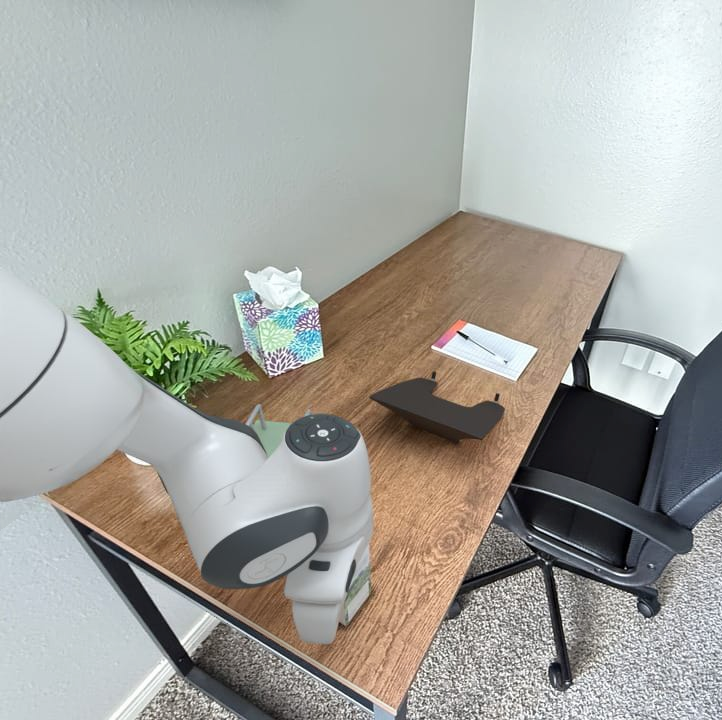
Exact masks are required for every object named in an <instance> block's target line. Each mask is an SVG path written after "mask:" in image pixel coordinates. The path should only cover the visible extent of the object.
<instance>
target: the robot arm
mask: <svg viewBox="0 0 722 720" xmlns="http://www.w3.org/2000/svg"><path fill="white" fill-rule="evenodd" d="M290 423H291V424H290V425H289V426H288V428H287V429H286V431H285V432H284V435H283V437H282V439H281V442H280V444H279V445H278V447H277V448H276V450H275V451H274V452H273V453H272V455H271V456H270V457H269V458H268V456H267V453H266V451H265V449H264V447H263V445H262V443H261V440H260V438H259V436H258V435H257V433H256V432H255V431H254V430H253V429H252V428H251V427H249V426H248V425H246V423H244V422H241V421H238V420H234V419H230V418H225V417H220V416H215V415H212V414H208V413H205V412H203V411H200V410H198V409H197V408H195V407H193V406H191V405H190V404H188V403H187V402H185V401H184V400H183V399H180V398H179V397H178V396H176V395H175V394H174V393H172V392H171V391H168V390H167V389H165V388H164V387H163V386H160V385H159V384H158V383H156V382H155V381H153V380H151V379H150V378H148V377H147V376H145V375H143V374H142V373H141V372H139V371H137V370H136V369H134V368H133V367H131V366H130V365H128V364H127V363H126V362H125V361H124V360H123V359H122V358H121V357H120V356H119V355H118V354H117V353H116V352H115V351H114V350H112V348H111V347H109V346H108V345H107V344H106V343H105V342H104V341H102V339H100V338H99V337H98V336H97V335H95V334H94V333H93V332H92V331H90V329H88V328H87V327H86V326H84V325H83V324H82V323H81V322H79V321H78V320H76V319H75V318H74V317H73V316H72V315H70V314H69V313H67V312H66V311H65V310H64V309H63V308H61V307H59V306H58V305H57V304H55V303H54V302H53V301H51V300H50V299H48V298H47V297H46V296H45V295H43V294H42V293H40V292H39V291H37V290H36V289H35V288H34V287H32V286H31V285H30V284H27V282H24V280H22V279H20V278H18V276H15V275H14V274H12V273H11V272H10V271H8V270H7V269H5V268H3V267H2V266H0V503H9V502H15V501H19V500H25V499H29V498H32V497H33V498H34V497H37V496H41V495H43V494H46V493H49V492H53V491H55V490H58V489H61V488H62V487H65V486H67V485H69V484H71V483H73V482H75V481H76V480H79V479H80V478H82V477H84V476H86V475H87V474H89V473H90V472H92V471H93V470H94V469H96V468H98V467H99V466H100V465H101V464H102V463H104V462H105V461H106V460H108V459H109V457H110V456H112V455H113V454H114V453H115V452H116V451H118V452H121V453H123V454H126V455H127V456H130V457H132V458H135V459H137V460H139V461H141V462H144V463H147V464H149V465H150V466H152V468H154V469H155V471H156V473H157V476H158V477H159V480H160V482H161V484H162V486H163V488H164V490H165V492H166V493H167V495H168V496H169V499H170V501H171V504H172V505H173V508H174V511H175V513H176V516H177V518H178V520H179V523H180V525H181V527H182V530H183V533H184V536H185V538H186V542H187V544H188V546H189V549H190V552H191V554H192V556H193V559H194V561H195V563H196V566H197V568H198V571H199V572H200V575H201V578H202V579H203V581H204V582H205V583H207V584H208V585H211V586H213V587H216V588H220V589H226V590H246V589H247V590H248V589H255V588H261V587H265V586H268V585H270V584H272V583H274V582H277V581H278V580H280V579H282V578H284V577H286V578H285V583H284V587H283V593H284V594H283V595H284V597H285V599H287V600H291V603H292V605H291V606H292V607H291V612H292V619H293V623H294V626H295V629H296V632H297V634H298V638H299V639H300V641H302V642H304V643H307V644H313V645H314V644H315V645H329V644H332V643H333V642H334V641H335V639H336V637H337V631H338V627H339V623H340V622H339V620H340V616H341V612H342V608H343V605H344V601H345V599H346V596H347V592H348V591H349V587H350V584H351V581H352V578H353V575H354V573H355V570H356V567H357V565H358V563H359V561H360V559H361V557H362V555H363V553H364V551H365V548H366V547H367V546H368V544H369V545H370V542H371V540H372V538H373V536H374V531H375V529H374V528H375V524H374V506H373V505H374V503H373V499H372V498H373V497H372V493H371V489H372V474H371V473H372V471H371V463H370V457H369V453H368V449H367V445H366V444H367V443H366V441H365V439H364V437H363V434H362V432H360V430H359V429H358V428H357V427H356V426H355V425H354V424H353V423H351V422H350V421H349V420H347V419H345V418H343V417H341V416H339V415H334V414H330V413H312V414H311V415H307V416H305V415H303V416H301V417H299V418H297V419H295V420H293V421H292V422H290Z"/></svg>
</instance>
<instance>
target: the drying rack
mask: <svg viewBox="0 0 722 720" xmlns="http://www.w3.org/2000/svg"><path fill="white" fill-rule="evenodd" d="M257 414H258V415H257ZM311 414H313V412H312V409H310V408H308V409H306V412H305V414H304V416H307V415H311ZM256 416H258V418H259V419H256V420H255V418H256ZM254 420H255V422H254ZM253 422H254V424H253ZM291 423H292V422H284V421H283V422H282V421H271V420H265V415H264V412H263V408H262V404H260V403H257V404H256V405H255V407H254V408H253V410H252V412H251V414H250V415H249V417H248V419H247V420H246V422H245V424H246V425H248V426H249V427H251V428H252V429H253V430H254V431H255V432H256V433H257V435H258V436H259V438H260V440H261V443H262V445H263V447H264V449H265V451H266V453H267V456H268V458H269V457H270V456H271V455H272V453H273V452H274V451H275V450H276V448H277V447H278V445H279V444H280V442H281V439H282V437H283V435H284V432H285V431H286V429H287V428H288V426H289V425H290V424H291Z"/></svg>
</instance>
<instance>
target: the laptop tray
mask: <svg viewBox="0 0 722 720" xmlns="http://www.w3.org/2000/svg"><path fill="white" fill-rule="evenodd" d="M436 376H437V371H435V370H433V371H432V372H431V376H430V379H429V378H424V377H415V378H412V379H408V380H405V381H401V382H398V383H396V384H394V385H391V386H387V387H386V388H383V389H381V390H379V391H377V392H374V393H373V394H371V395H369V400H372V401H373V402H375V403H377V404H378V405H381V406H382V407H384V408H385V409H387V410H389V411H391V412H393V413H394V414H395V415H397V416H399V417H400V418H401V419H403V420H404V421H405V422H407V423H408V424H409V425H410V426H411V427H413V428H415V429H416V430H420V431H422V432H424V433H427V434H430V435H433V436H436V437H438V438H441V439H443V440H446V441H448V442H451V443H453V444H460V442H461V441H463V440H474V441H475V440H476V441H483V439H484V438H485V437H486V436H487V435H489V434H490V432H492V430H493V429H494V428H495V427H496V426H497V425H498V423H499V422H500V421H501V419H502V417H503V415H504V413H505V411H506V408H505V407H504V406H503V405H502V404H500V403H498V402H499V399H500V395H501V394H500V393H498V392H497V393H495V395H494V399H493V401H492V400H484V401H481V402H479V403H476V404H474V405H473V406H465V405H462V404H458V403H456V402H453V401H450V400H448V399H444V398H442V397H439V396H437V395H434V394H432V391H434V390H435V389H436V388H437V386H438V385H439V383H438V382H437V381H435V379H436Z"/></svg>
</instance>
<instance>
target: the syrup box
mask: <svg viewBox="0 0 722 720" xmlns="http://www.w3.org/2000/svg"><path fill="white" fill-rule="evenodd" d="M370 555H371V552H370V543H369V544H368V546H367V547H366V548H365V551H364V553H363V555H362V557H361V559H360V561H359V563H358V565H357V567H356V570H355V573H354V575H353V578H352V581H351V584H350V587H349V591H348V592H347V596H346V599H345V601H344V605H343V608H342V612H341V616H340V620H339V623H340V624H342V625H343V626H345V627H347V626H348V625H349V624H350V622H351V621H352V620H353V618H354V617H355V615H356V614H357V612H358V611H359V610H360V609H361V607H362V606H363V605H364V603H365V602H366V601H367V599H368V598H369V596H370V595H371V594H372V583H371V556H370Z"/></svg>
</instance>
